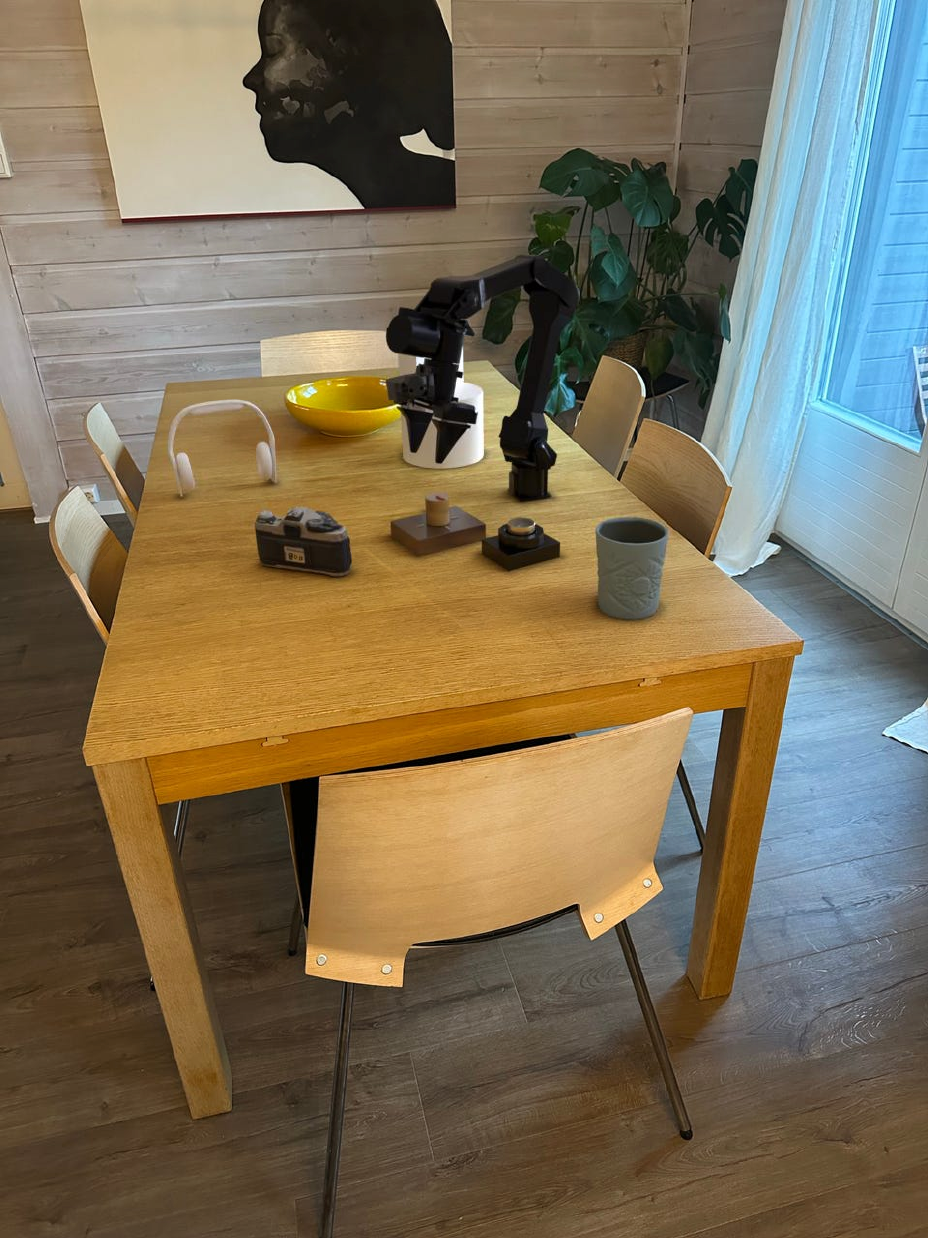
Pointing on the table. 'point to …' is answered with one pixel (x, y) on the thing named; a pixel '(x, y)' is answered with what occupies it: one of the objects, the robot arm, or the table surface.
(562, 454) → the table surface
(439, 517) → the volume knob
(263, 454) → the headset
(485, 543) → the switch block
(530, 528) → the power button
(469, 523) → the console
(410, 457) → the cylinder
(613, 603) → the grey embossed cup
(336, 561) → the camera
